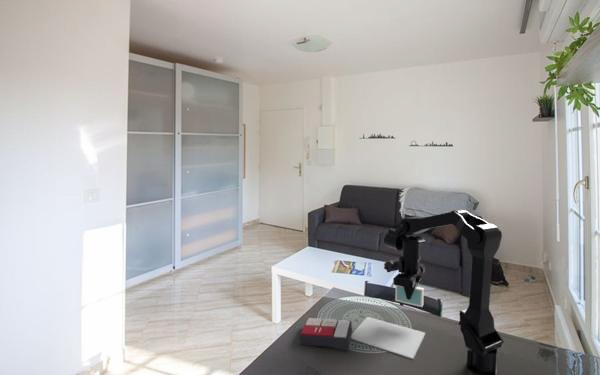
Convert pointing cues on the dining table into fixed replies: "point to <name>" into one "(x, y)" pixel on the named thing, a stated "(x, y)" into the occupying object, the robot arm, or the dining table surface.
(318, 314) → the dining table surface
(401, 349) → the mat
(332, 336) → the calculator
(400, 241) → the robot arm
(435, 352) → the dining table surface
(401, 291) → the block
